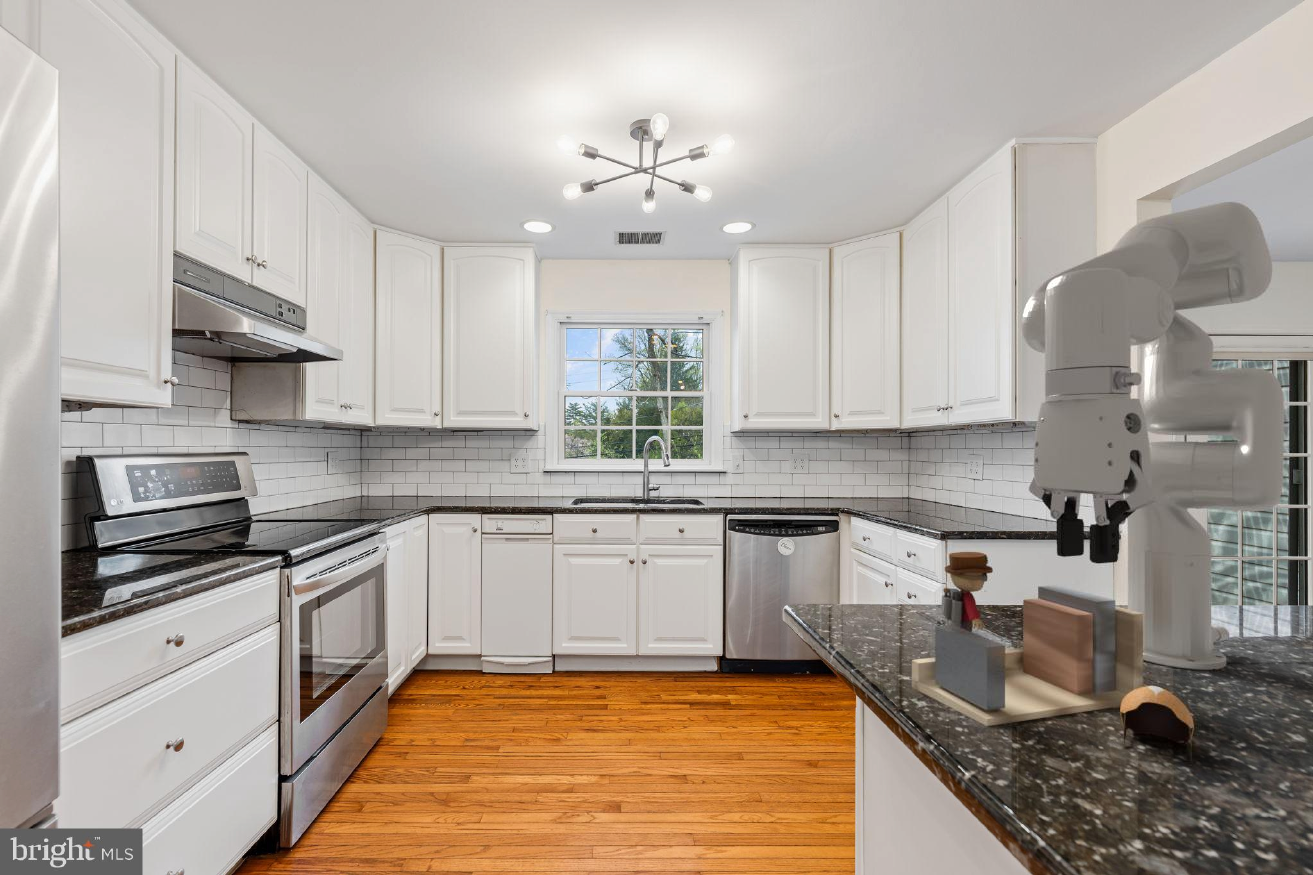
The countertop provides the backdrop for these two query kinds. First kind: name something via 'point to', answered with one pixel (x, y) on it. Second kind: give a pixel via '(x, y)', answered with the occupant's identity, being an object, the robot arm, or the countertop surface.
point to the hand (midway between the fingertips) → (1086, 557)
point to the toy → (965, 589)
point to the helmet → (1157, 715)
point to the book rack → (1058, 660)
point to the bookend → (970, 666)
